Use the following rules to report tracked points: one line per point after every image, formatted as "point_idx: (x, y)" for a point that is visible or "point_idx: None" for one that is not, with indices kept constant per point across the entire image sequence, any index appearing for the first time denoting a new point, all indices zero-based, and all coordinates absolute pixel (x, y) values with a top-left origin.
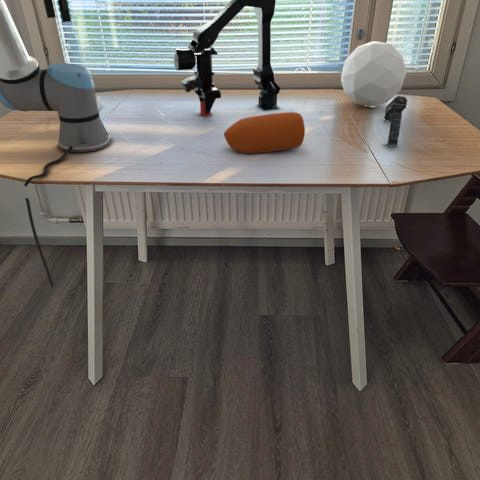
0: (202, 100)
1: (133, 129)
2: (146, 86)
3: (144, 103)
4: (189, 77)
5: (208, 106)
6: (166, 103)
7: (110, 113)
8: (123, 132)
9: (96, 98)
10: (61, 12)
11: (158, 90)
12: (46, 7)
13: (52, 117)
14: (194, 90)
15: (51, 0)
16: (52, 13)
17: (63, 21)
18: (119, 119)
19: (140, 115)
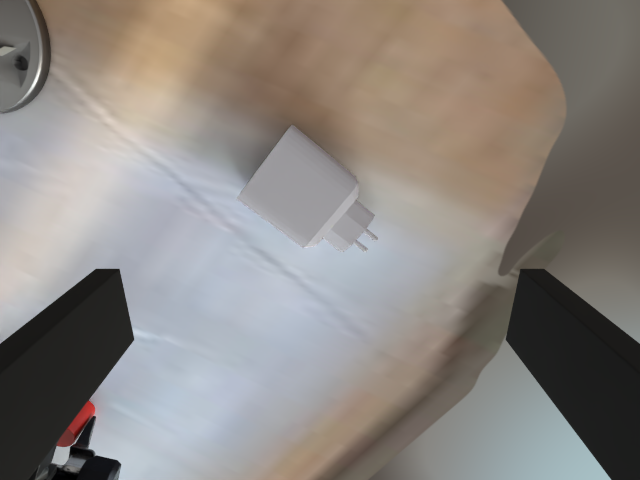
0: (73, 436)
1: (46, 212)
2: (427, 426)
3: (266, 345)
4: (33, 475)
5: None
6: (229, 386)
7: (230, 227)
8: (32, 177)
9: (274, 223)
10: (37, 319)
11: (363, 429)
12: (584, 334)
13: (304, 50)
14: (86, 452)
15: (616, 475)
16: (528, 340)
17: (94, 275)
18: (157, 222)
19: (162, 285)
